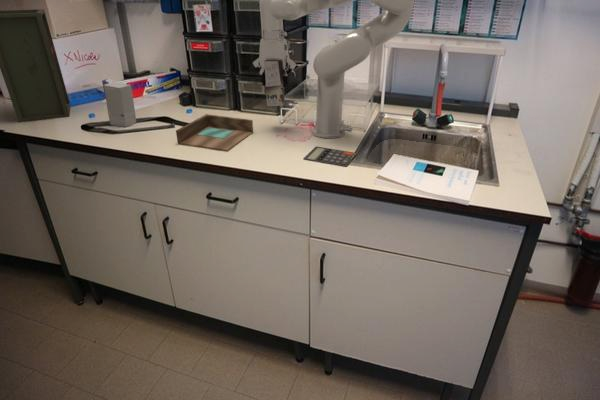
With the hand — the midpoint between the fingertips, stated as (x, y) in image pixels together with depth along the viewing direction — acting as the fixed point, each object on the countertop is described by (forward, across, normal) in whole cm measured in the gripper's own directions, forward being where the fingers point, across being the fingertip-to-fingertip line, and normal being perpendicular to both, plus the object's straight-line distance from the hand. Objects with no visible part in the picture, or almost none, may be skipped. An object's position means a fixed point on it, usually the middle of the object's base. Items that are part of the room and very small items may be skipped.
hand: (275, 85), depth 152 cm
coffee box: (+7, 0, 0) cm, 7 cm away
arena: (+16, +17, +17) cm, 29 cm away
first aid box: (+14, +101, +17) cm, 103 cm away
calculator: (+18, -27, +19) cm, 38 cm away
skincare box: (+15, +60, +16) cm, 64 cm away
